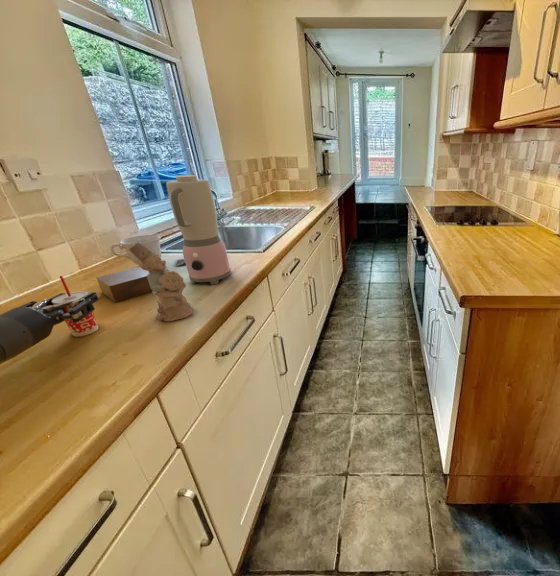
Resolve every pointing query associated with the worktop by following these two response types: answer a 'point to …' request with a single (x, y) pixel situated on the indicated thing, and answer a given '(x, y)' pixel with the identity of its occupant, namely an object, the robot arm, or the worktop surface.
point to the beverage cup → (82, 326)
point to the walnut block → (125, 284)
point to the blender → (198, 229)
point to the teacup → (147, 240)
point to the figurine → (163, 285)
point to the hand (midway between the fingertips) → (80, 296)
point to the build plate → (181, 262)
